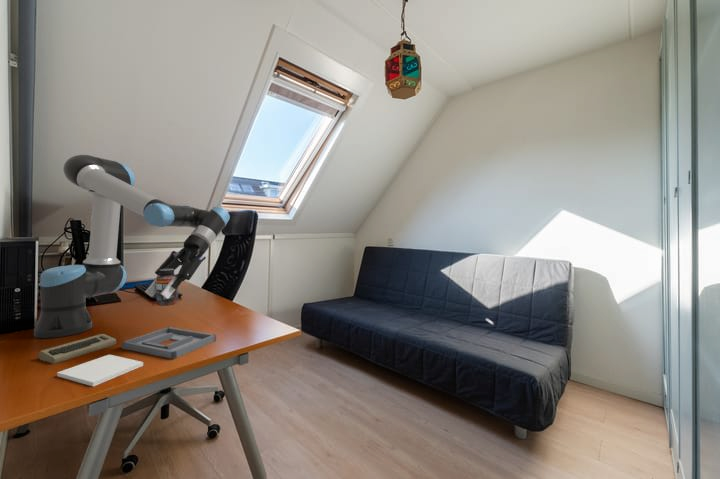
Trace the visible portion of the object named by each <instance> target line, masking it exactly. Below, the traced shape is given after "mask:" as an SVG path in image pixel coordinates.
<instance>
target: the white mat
mask: <svg viewBox="0 0 720 479" xmlns="http://www.w3.org/2000/svg"><path fill="white" fill-rule="evenodd" d="M143 366H144V362H143V361H139V360H137V359H131V358H127V357H122V356H118V355H113V354H107V355H106V354H105V355H104V356H100V357H99V358H95V359H92V360H89V361H85V362H83V363H81V364H78V365H74V366H73V367H69V368H66V369H63V370H61V371H58V372H56V374H57V376H56V377H58V378H62V379H66V380H69V381H72V382H76V383H79V384H82V385H83V384H84V385H87V386H90V387H96V386H98V385H100V384H103V383H106V382H107V381H109V380H112V379H115V378H117V377H120V376H122V375H125V374H126V373H129V372H131V371H133V370H136V369H139V368H141V367H143Z"/></svg>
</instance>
